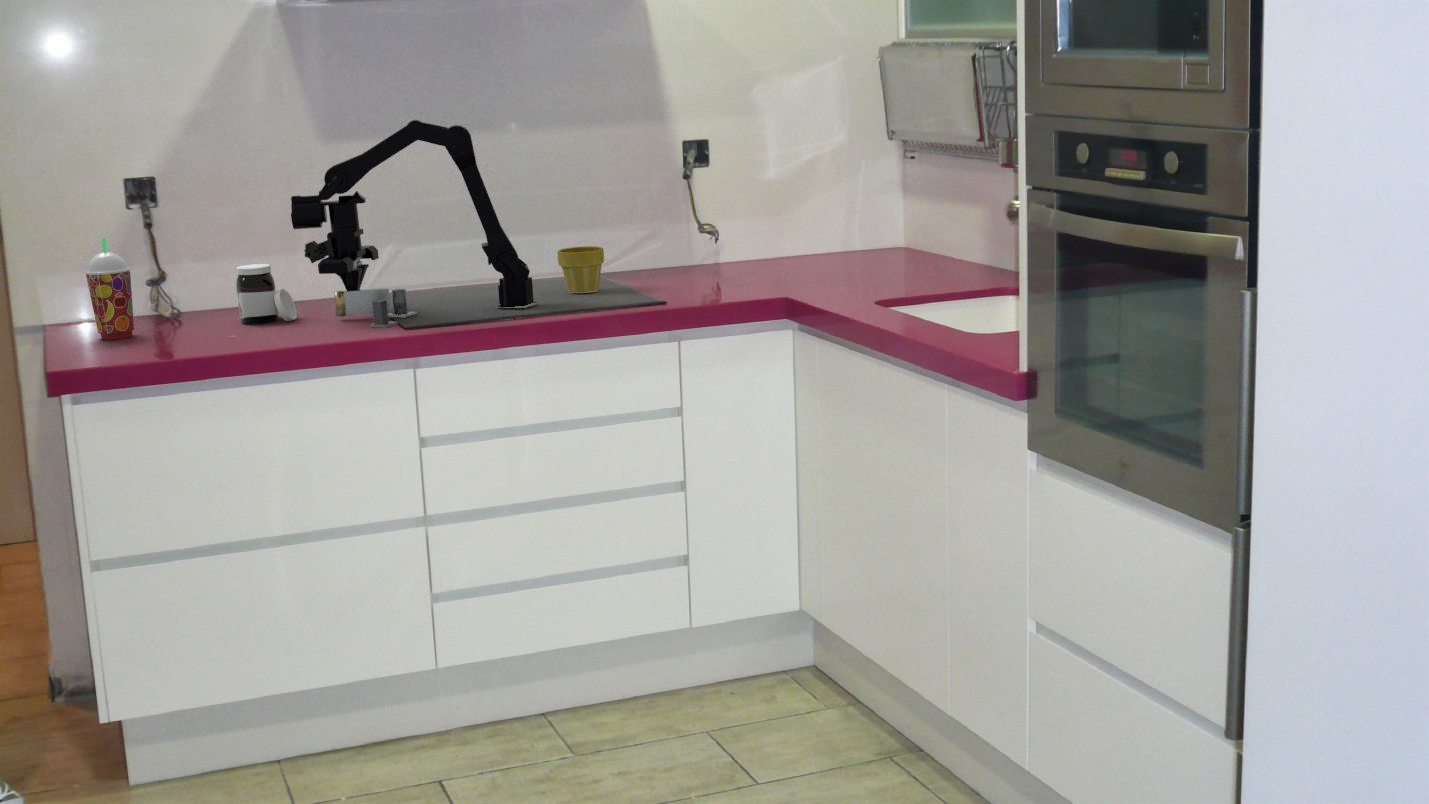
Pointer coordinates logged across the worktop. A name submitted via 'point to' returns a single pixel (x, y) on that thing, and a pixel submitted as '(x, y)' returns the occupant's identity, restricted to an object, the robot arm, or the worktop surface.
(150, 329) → the worktop surface
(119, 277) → the smoothie
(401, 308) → the hinge post
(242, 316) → the spread jar
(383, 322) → the post
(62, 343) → the worktop surface
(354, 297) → the gate
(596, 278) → the plant pot
